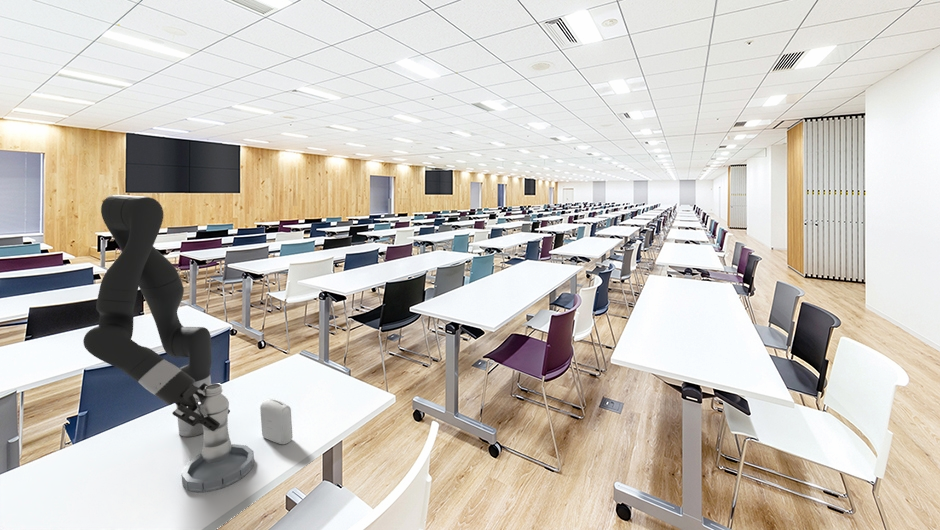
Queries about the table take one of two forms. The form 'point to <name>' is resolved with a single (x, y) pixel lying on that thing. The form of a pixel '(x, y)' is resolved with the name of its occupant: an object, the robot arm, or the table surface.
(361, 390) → the table surface
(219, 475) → the round tray
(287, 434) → the photo printer
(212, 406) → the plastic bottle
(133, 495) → the table surface
